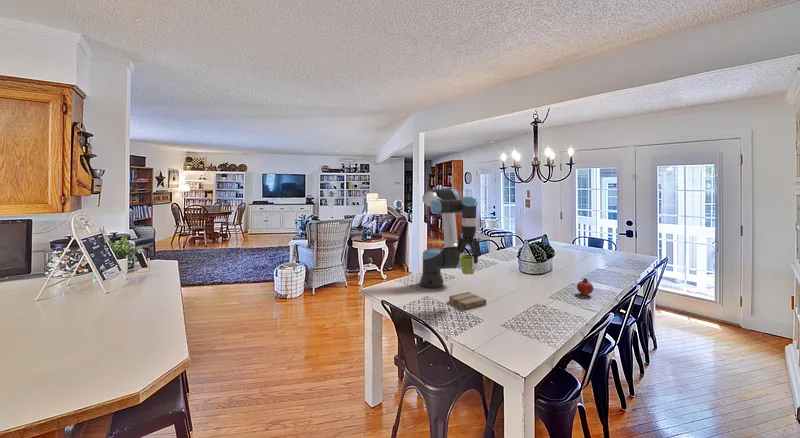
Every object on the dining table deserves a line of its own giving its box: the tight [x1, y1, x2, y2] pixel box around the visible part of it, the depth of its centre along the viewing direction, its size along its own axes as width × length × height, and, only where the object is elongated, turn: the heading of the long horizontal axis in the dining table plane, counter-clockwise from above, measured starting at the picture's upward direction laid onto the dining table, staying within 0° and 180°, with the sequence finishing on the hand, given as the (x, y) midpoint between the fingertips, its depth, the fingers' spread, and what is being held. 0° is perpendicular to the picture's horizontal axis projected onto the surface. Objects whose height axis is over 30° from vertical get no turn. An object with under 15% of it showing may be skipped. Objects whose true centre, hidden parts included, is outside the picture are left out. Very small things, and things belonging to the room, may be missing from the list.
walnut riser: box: [449, 291, 487, 311], centre depth 171 cm, size 14×14×3 cm
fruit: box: [576, 277, 594, 296], centre depth 182 cm, size 8×8×10 cm
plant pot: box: [459, 255, 475, 276], centre depth 169 cm, size 9×9×9 cm
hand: (468, 266), depth 169 cm, fingers closed on plant pot, 9 cm apart
